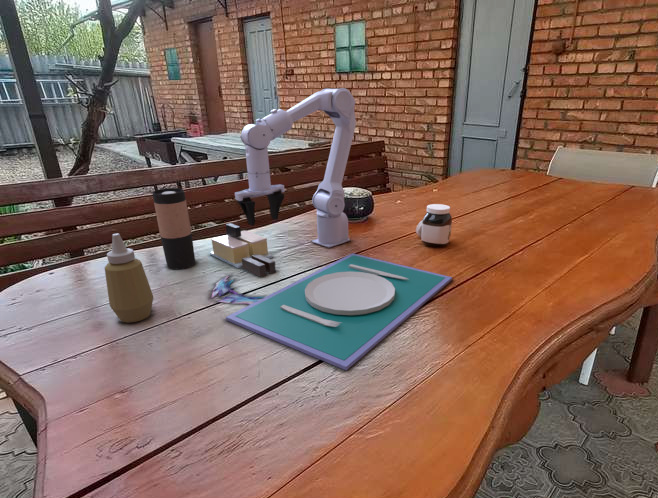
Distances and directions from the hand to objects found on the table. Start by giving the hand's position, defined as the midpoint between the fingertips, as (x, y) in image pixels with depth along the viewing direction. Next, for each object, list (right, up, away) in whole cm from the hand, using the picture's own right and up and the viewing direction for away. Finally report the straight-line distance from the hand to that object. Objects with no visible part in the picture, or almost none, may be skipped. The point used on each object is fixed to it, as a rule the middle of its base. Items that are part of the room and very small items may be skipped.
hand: (263, 221), depth 118 cm
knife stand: (0, -14, -6) cm, 15 cm away
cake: (-7, -9, +3) cm, 12 cm away
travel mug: (-22, -12, -3) cm, 25 cm away
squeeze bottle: (-20, -24, -29) cm, 42 cm away
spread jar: (+49, -5, +15) cm, 51 cm away
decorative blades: (-3, -19, -19) cm, 27 cm away
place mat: (+25, -20, -21) cm, 38 cm away
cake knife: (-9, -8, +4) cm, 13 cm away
